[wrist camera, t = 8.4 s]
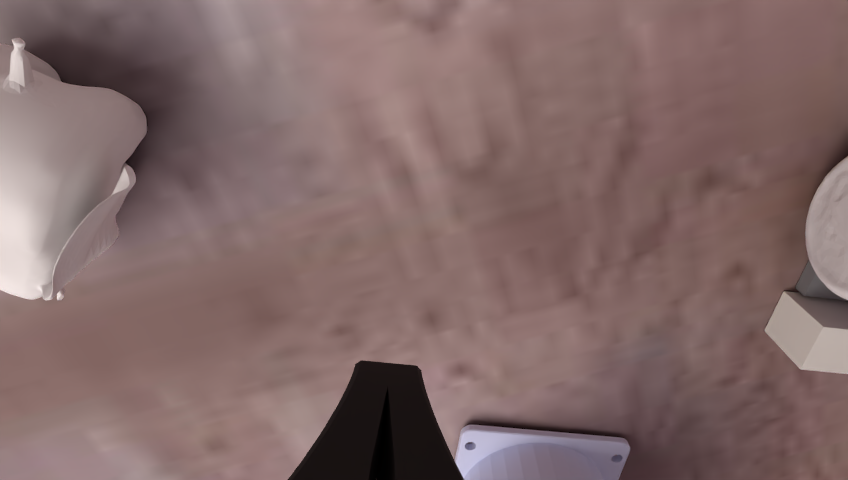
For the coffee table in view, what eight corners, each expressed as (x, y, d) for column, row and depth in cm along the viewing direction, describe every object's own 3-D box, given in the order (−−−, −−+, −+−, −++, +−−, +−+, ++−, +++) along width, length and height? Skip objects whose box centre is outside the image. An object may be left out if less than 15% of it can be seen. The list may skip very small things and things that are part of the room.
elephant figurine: (-60, 217, 21) (-267, 328, 15) (-28, -36, 17) (-290, -34, 11) (142, 293, 23) (34, 424, 16) (213, 78, 19) (107, 138, 12)
